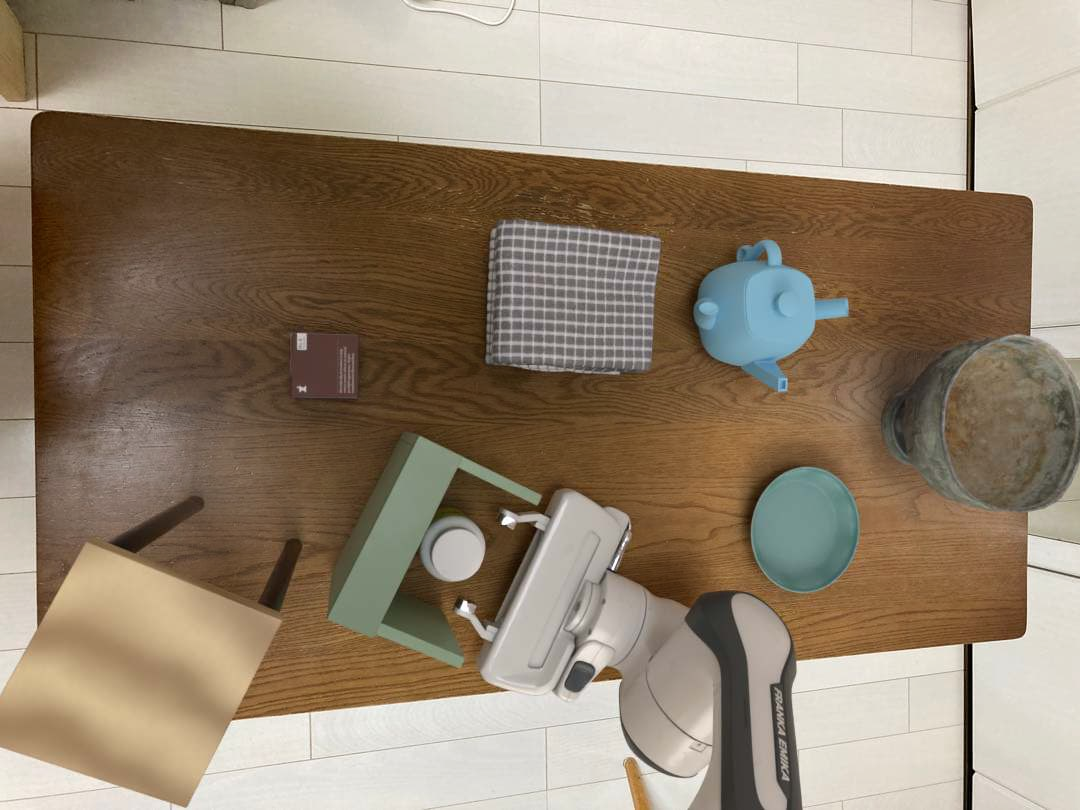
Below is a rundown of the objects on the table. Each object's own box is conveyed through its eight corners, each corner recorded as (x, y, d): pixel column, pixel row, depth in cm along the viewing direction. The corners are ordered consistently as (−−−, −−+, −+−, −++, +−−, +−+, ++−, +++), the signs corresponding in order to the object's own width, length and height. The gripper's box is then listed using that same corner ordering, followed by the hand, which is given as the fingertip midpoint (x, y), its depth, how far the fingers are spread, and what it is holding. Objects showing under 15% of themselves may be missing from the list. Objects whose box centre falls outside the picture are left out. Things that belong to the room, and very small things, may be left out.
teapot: (729, 407, 83) (787, 406, 72) (652, 321, 81) (700, 307, 70) (808, 318, 86) (876, 304, 75) (736, 233, 84) (795, 205, 73)
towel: (484, 229, 76) (499, 208, 68) (643, 242, 80) (674, 225, 73) (481, 371, 75) (496, 366, 68) (641, 376, 80) (672, 373, 73)
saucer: (752, 603, 84) (765, 609, 81) (727, 482, 83) (739, 484, 80) (855, 568, 87) (871, 573, 85) (832, 452, 87) (847, 453, 84)
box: (357, 401, 72) (358, 400, 65) (294, 400, 70) (288, 399, 63) (358, 341, 72) (359, 334, 65) (296, 339, 70) (290, 331, 63)
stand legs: (248, 651, 69) (190, 791, 43) (130, 605, 66) (-7, 726, 41) (305, 541, 71) (280, 615, 45) (191, 492, 68) (96, 541, 42)
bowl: (982, 357, 93) (1099, 347, 78) (968, 505, 92) (1084, 522, 77) (855, 334, 88) (955, 318, 73) (839, 490, 87) (937, 505, 72)
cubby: (438, 618, 74) (463, 675, 58) (331, 573, 71) (326, 619, 55) (505, 479, 76) (547, 497, 60) (403, 430, 73) (419, 435, 57)
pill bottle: (483, 524, 75) (505, 542, 65) (451, 575, 74) (468, 602, 64) (433, 494, 74) (447, 507, 63) (401, 545, 73) (409, 568, 62)
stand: (191, 795, 43) (186, 808, 42) (-12, 728, 41) (-26, 739, 39) (284, 613, 45) (282, 620, 44) (94, 536, 42) (85, 541, 41)
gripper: (652, 524, 71) (532, 464, 67) (564, 719, 68) (435, 666, 65) (627, 515, 77) (516, 460, 73) (546, 694, 74) (427, 644, 71)
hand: (477, 558), depth 69 cm, fingers open, 8 cm apart
